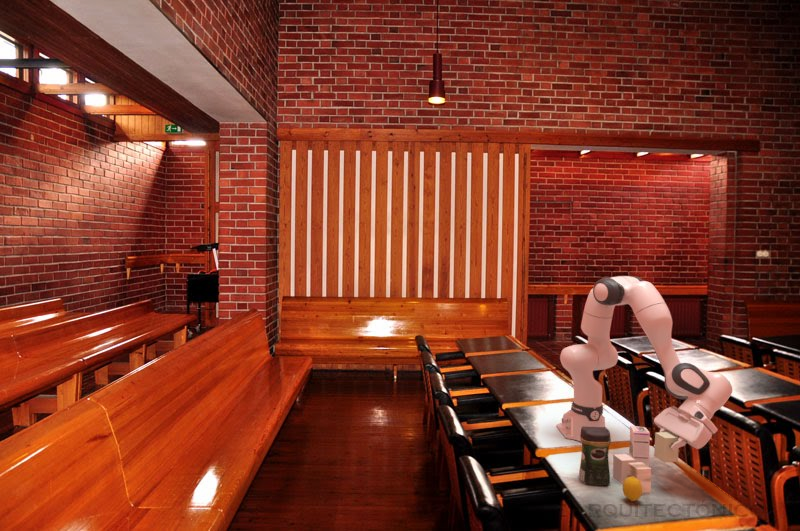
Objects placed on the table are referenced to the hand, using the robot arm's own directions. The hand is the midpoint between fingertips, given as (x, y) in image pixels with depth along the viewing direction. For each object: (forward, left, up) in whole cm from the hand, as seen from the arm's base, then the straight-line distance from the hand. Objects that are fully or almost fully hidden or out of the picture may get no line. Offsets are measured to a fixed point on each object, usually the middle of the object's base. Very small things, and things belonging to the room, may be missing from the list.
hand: (664, 445), depth 175 cm
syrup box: (-16, +2, -15) cm, 22 cm away
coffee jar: (-8, -20, -15) cm, 26 cm away
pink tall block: (-1, -8, -15) cm, 17 cm away
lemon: (+6, -15, -15) cm, 22 cm away
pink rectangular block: (-8, -9, -15) cm, 19 cm away
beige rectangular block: (0, +1, -5) cm, 5 cm away
